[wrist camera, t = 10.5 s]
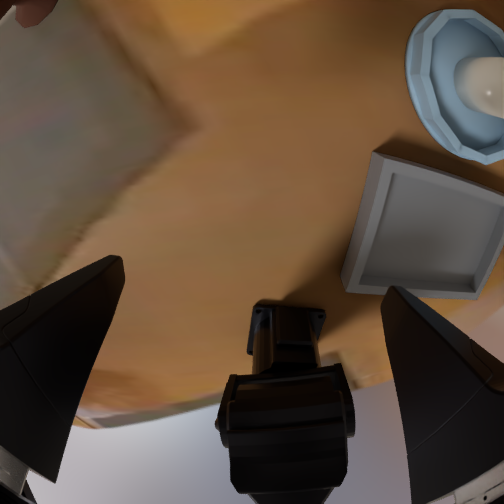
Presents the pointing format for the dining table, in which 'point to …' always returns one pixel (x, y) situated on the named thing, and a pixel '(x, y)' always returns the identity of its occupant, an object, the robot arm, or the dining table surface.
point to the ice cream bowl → (28, 10)
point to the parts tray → (423, 232)
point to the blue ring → (442, 81)
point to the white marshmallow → (481, 84)
